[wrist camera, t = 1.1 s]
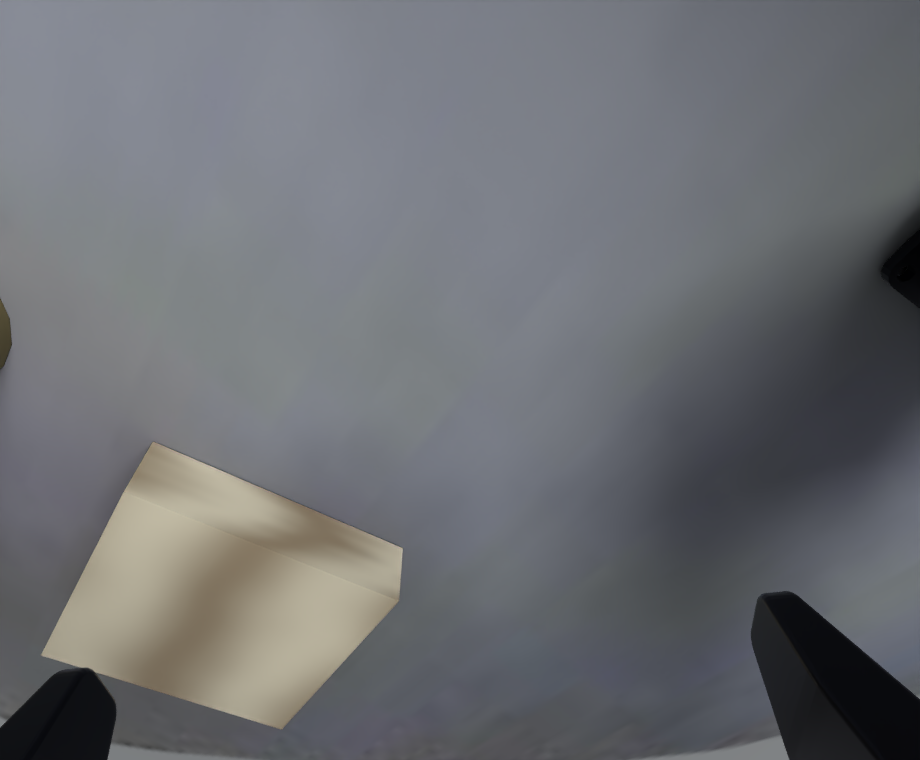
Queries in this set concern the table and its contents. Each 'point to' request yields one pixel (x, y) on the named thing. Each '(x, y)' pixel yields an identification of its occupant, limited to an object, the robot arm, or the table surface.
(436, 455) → the table surface
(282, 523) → the block
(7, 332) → the cork
